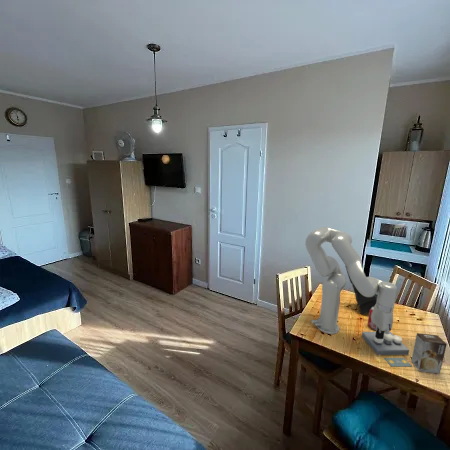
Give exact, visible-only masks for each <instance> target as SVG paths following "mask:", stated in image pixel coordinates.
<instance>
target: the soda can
mask: <svg viewBox="0 0 450 450" xmlns="http://www.w3.org/2000/svg"><path fill="white" fill-rule="evenodd" d="M373 309H374V307H372V308H371V309H370V312H369V313H368V319H367V327H369V328H370V329H372V330H374V331H376V325H375V324H374V323H373V322H372V320H371V316H372V312H373Z"/></svg>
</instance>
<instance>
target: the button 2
mask: <svg viewBox="0 0 450 450" xmlns="http://www.w3.org/2000/svg"><path fill="white" fill-rule="evenodd" d="M392 340H393V336H392V335H391V334H385V333H384V342H385V343H386V344H391V342H392Z"/></svg>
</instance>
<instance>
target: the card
mask: <svg viewBox="0 0 450 450" xmlns="http://www.w3.org/2000/svg"><path fill="white" fill-rule="evenodd" d="M384 360H385V361H386V363H388V365H389V366H390V367H391V368H392V367H394V368H395V367H396V368H397V367H401V368H402V367H405V368H406V367H409V368H411V367H413V366H412V363H410V362H409V361H408V360H407V359H406V358H405V357H384Z"/></svg>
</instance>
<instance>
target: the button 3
mask: <svg viewBox="0 0 450 450" xmlns="http://www.w3.org/2000/svg"><path fill="white" fill-rule="evenodd" d="M393 343H394V344H395V345H400V344H401V343H403V338H402V337H401V336H400V335H396V334H393Z"/></svg>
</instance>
